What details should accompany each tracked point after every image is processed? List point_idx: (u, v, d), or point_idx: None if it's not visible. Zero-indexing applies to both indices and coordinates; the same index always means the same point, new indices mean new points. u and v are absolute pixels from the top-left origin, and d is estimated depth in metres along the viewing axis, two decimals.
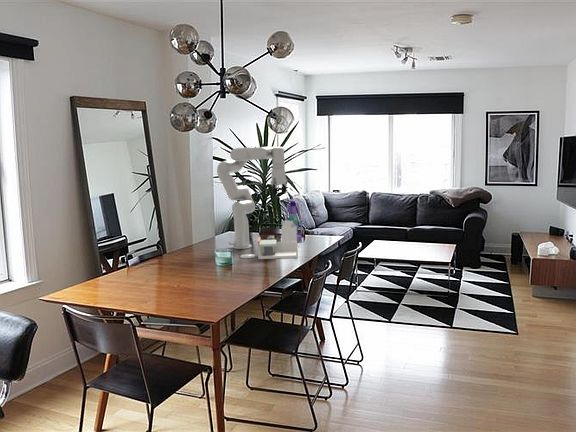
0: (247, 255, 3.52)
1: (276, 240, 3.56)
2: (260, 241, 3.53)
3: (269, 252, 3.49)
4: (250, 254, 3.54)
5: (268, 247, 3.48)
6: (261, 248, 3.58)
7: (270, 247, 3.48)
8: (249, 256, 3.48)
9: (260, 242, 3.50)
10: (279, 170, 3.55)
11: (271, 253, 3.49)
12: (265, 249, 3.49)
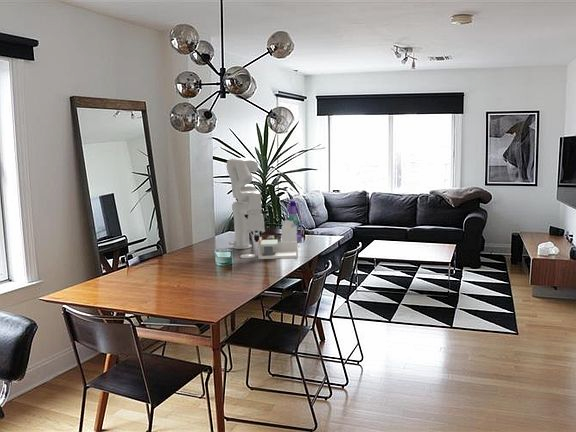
0: (247, 255, 3.52)
1: (277, 240, 3.56)
2: (261, 241, 3.53)
3: (269, 252, 3.49)
4: (250, 254, 3.54)
5: (268, 247, 3.49)
6: (261, 248, 3.58)
7: (270, 247, 3.49)
8: (249, 256, 3.48)
9: (261, 242, 3.50)
10: None
11: (271, 253, 3.49)
12: (265, 249, 3.49)
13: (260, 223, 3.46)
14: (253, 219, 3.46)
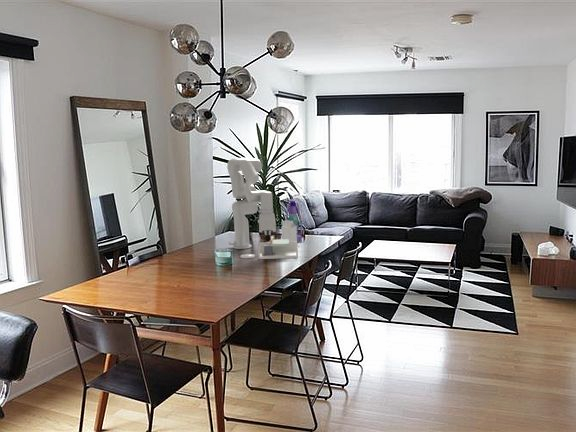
0: (247, 255, 3.52)
1: (288, 240, 3.56)
2: (272, 241, 3.53)
3: (269, 252, 3.49)
4: (250, 254, 3.54)
5: (268, 247, 3.49)
6: (261, 248, 3.58)
7: (270, 247, 3.49)
8: (249, 256, 3.48)
9: (273, 242, 3.50)
10: None
11: (271, 253, 3.49)
12: (265, 249, 3.49)
13: (271, 223, 3.46)
14: (264, 219, 3.46)
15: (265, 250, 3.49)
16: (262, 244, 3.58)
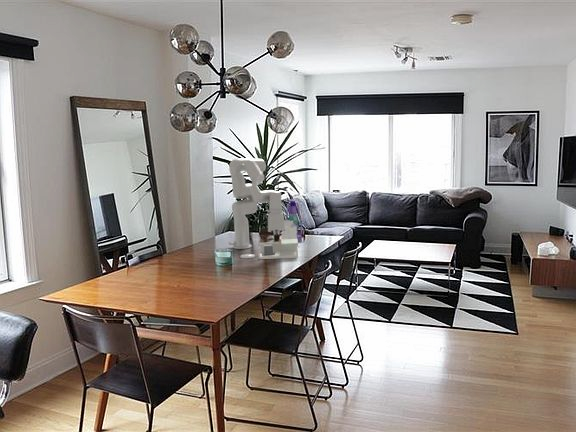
0: (247, 255, 3.52)
1: (297, 239, 3.56)
2: (281, 240, 3.53)
3: (269, 252, 3.49)
4: (250, 254, 3.54)
5: (268, 247, 3.49)
6: (261, 248, 3.58)
7: (270, 247, 3.49)
8: (249, 256, 3.48)
9: (281, 241, 3.50)
10: None
11: (271, 253, 3.49)
12: (265, 249, 3.49)
13: (280, 222, 3.46)
14: (273, 219, 3.46)
15: (265, 250, 3.49)
16: (262, 244, 3.58)
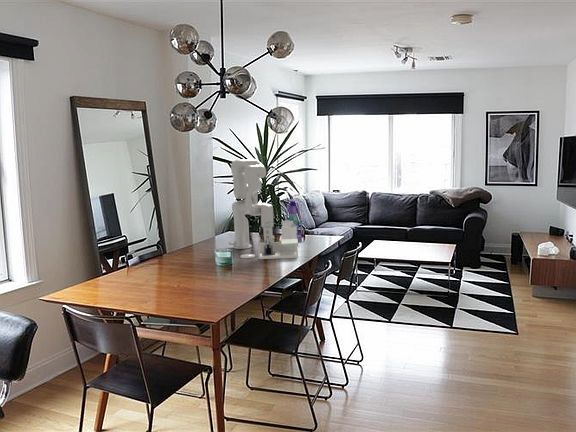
0: (247, 255, 3.52)
1: (297, 239, 3.56)
2: (281, 240, 3.53)
3: None
4: (250, 254, 3.54)
5: None
6: (261, 248, 3.58)
7: (270, 247, 3.48)
8: (249, 256, 3.48)
9: (282, 241, 3.50)
10: None
11: (271, 253, 3.49)
12: (265, 249, 3.49)
13: (272, 234, 3.53)
14: None
15: (265, 250, 3.49)
16: (262, 244, 3.58)
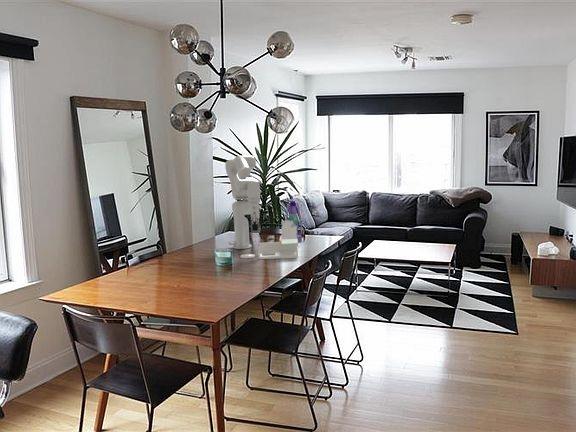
0: (247, 255, 3.52)
1: (297, 239, 3.56)
2: (281, 240, 3.53)
3: None
4: (250, 254, 3.54)
5: None
6: (261, 248, 3.58)
7: (257, 223, 3.47)
8: (249, 256, 3.48)
9: (282, 241, 3.50)
10: None
11: (258, 229, 3.47)
12: None
13: None
14: (258, 207, 3.47)
15: None
16: (262, 244, 3.58)
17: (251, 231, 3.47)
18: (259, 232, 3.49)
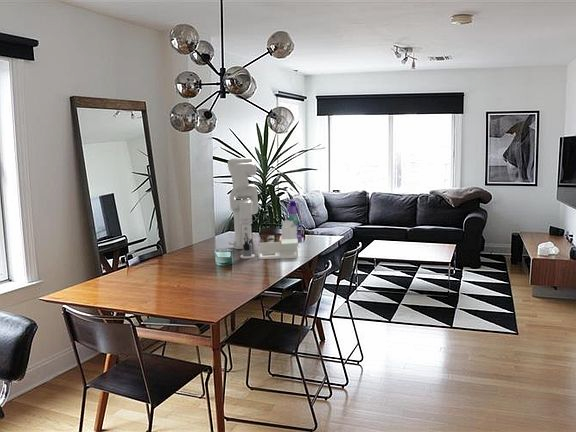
0: None
1: (297, 239, 3.56)
2: (281, 240, 3.53)
3: (248, 251, 3.49)
4: None
5: None
6: (261, 248, 3.58)
7: (249, 246, 3.49)
8: (249, 256, 3.48)
9: (282, 241, 3.50)
10: None
11: (250, 252, 3.49)
12: None
13: None
14: (250, 228, 3.48)
15: None
16: (262, 244, 3.58)
17: (243, 254, 3.49)
18: (251, 255, 3.51)
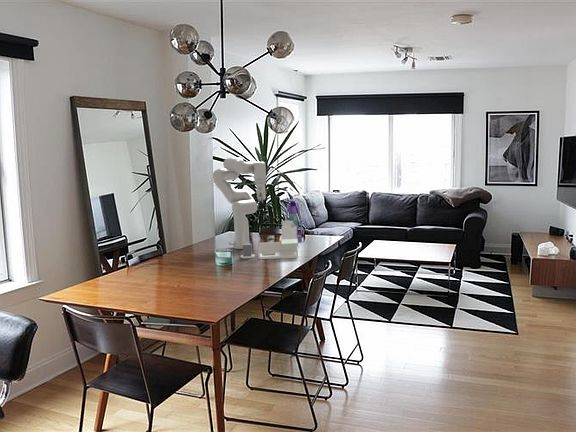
0: None
1: (297, 239, 3.56)
2: (281, 240, 3.53)
3: (248, 251, 3.49)
4: None
5: (247, 246, 3.49)
6: (261, 248, 3.58)
7: (249, 246, 3.49)
8: (249, 256, 3.48)
9: (282, 241, 3.50)
10: None
11: (250, 252, 3.49)
12: (244, 248, 3.49)
13: None
14: (264, 188, 3.59)
15: (244, 249, 3.49)
16: (262, 244, 3.58)
17: (243, 254, 3.49)
18: (251, 255, 3.51)
